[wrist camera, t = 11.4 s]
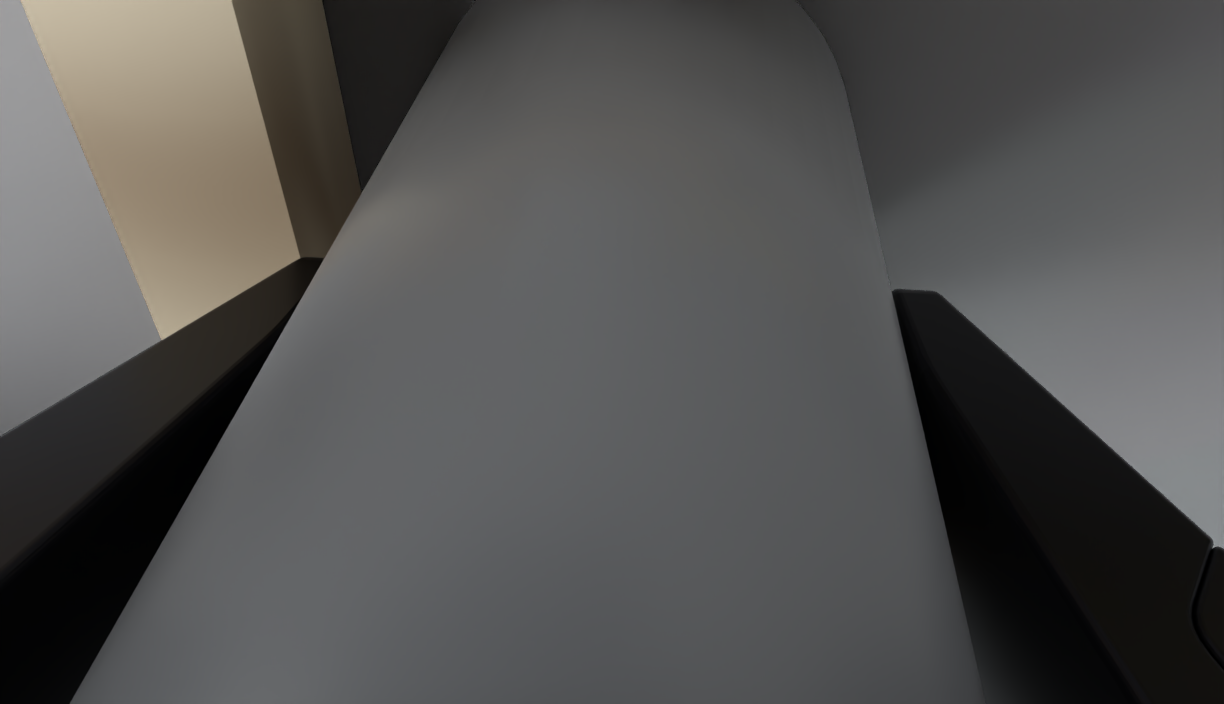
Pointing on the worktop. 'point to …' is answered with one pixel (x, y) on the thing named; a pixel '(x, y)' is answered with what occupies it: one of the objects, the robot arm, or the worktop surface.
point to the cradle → (205, 137)
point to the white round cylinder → (578, 404)
